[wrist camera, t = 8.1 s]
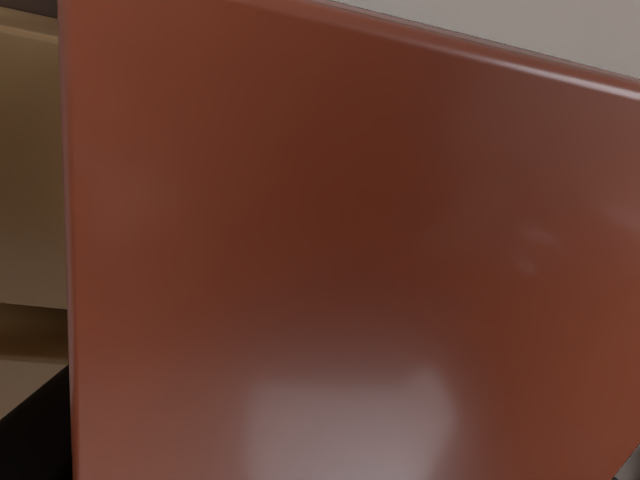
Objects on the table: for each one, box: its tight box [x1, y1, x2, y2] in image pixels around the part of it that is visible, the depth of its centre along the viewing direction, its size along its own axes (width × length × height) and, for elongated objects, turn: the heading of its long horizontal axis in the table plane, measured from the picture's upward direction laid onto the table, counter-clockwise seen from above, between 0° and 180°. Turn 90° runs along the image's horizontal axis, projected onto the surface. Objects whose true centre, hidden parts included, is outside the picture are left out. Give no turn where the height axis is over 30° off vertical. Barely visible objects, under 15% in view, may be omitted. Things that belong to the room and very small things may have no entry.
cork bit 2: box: [0, 303, 69, 420], centre depth 9 cm, size 4×4×2 cm
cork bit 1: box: [0, 7, 67, 310], centre depth 7 cm, size 4×4×2 cm
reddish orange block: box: [57, 0, 640, 480], centre depth 7 cm, size 5×11×5 cm, turn 167°
